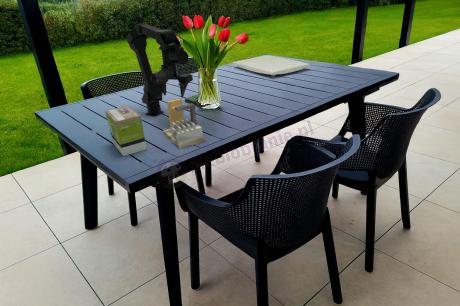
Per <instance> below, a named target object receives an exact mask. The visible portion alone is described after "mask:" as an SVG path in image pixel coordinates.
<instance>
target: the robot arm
mask: <svg viewBox="0 0 460 306" xmlns="http://www.w3.org/2000/svg"><path fill="white" fill-rule="evenodd" d="M148 38H151V39H153V40H155V42H156V44H158V45H159V47H158V50H159V51H161V59H162V64H161V66H160V67H161V68H160V70H159V71H155V72H153V71H152V67H151V65H150V61H149V57H148V54H147V51H146V50H147V46H148V42H147V39H148ZM126 41H127V43H128V46H129V48H130V49H131V50H132V51H133V52H134V53H135V56H136V59H137V63H138V66H139V69H140V72H141V75H142V78H143V81H144V84H143V88H142V90H143V95H142V97H141V101H142V104H145V105H146V109H147V112H145V115H147V116H151V117H155V116H158V115H161V114H163V113H164V111H162V108H161V104H160V101H161V102H162V101H163V96H167V83H168V82H169V80H171V81H178V83H177V84H178V86H179V88H180V89H179V90H180V97H181V98H184V97H185V92H186V90H187V87H188V86H189V83H191V82H192V81H194V78H193V75H192V74H191V73H182V74H181V75H180V71H178V65H186V64H187V62H188V61H189V58H190V57H189V54H188V52H187V51H186V50H185V49H184V47H183V46H182V44H181V42H180V40H179V38H178V36H177V34H176V33H175V31H174V30H173V29H160V28H157V27H156V26H155V27H154V26H152V25H150V24H148V23H146V22H143V23H137V24H136V25H135V26H134V27H133V29H131V30H130V31H129V32H128V34H127V36H126Z"/></svg>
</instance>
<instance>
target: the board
mask: <svg viewBox="0 0 460 306" xmlns="http://www.w3.org/2000/svg"><path fill="white" fill-rule="evenodd" d="M232 64H233V65H235V66H236V67H239V68H241V69H244V70H247V71H250V72H253V73H254V72H255V73H259V74H266V75H270V76H271V77H275V76H276V75H283V74H289V73H294V72H297V71H301V70H303V69H306V68H309V67H310V66H311V63H307V62H303V61H298V60H293V59H288V58H283V57H280V56H279V57H278V56H273V55H263V56H262V55H261V56H257V57H252V58H247V59H241V60H236V61H233V62H232Z"/></svg>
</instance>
